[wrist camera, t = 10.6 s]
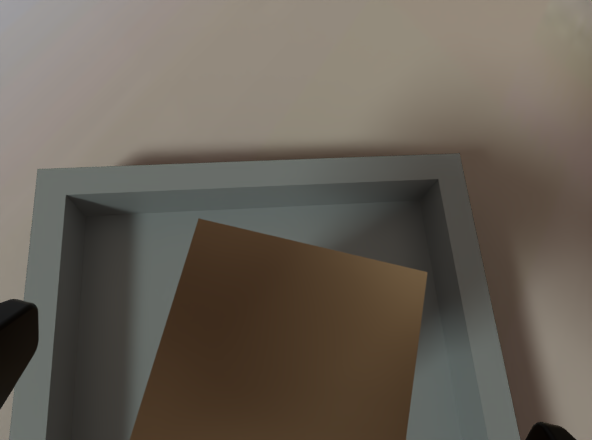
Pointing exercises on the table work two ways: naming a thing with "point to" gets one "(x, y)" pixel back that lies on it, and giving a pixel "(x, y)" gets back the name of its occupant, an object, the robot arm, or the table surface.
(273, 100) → the table surface
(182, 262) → the tray
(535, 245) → the table surface
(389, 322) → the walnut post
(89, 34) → the table surface
